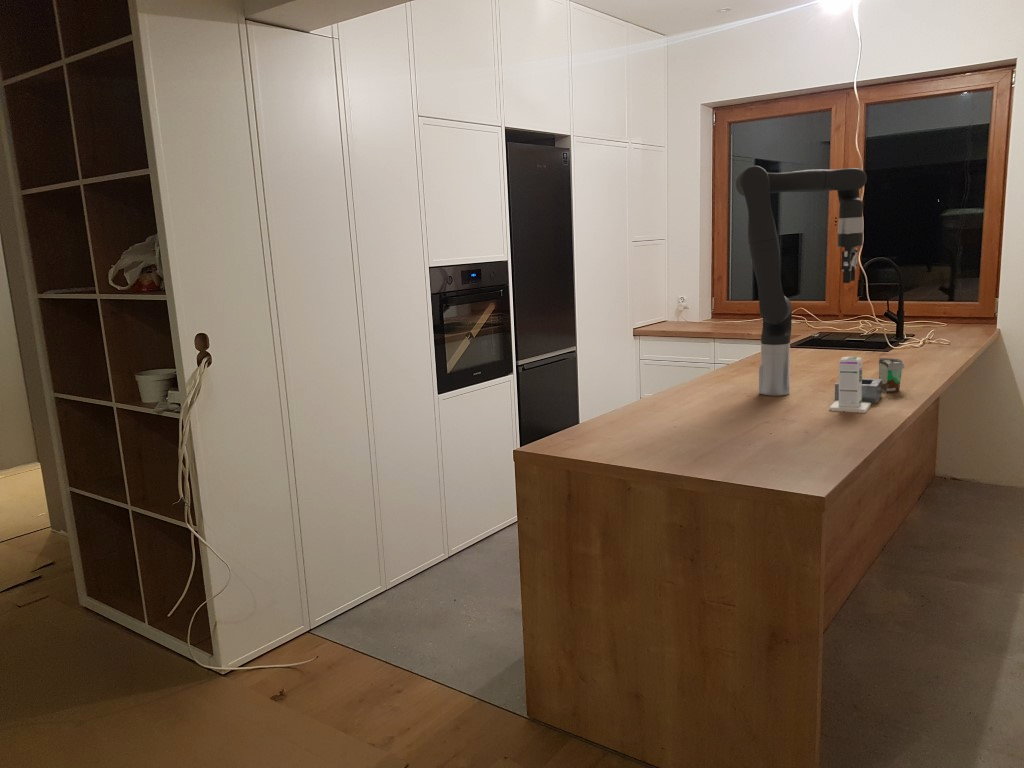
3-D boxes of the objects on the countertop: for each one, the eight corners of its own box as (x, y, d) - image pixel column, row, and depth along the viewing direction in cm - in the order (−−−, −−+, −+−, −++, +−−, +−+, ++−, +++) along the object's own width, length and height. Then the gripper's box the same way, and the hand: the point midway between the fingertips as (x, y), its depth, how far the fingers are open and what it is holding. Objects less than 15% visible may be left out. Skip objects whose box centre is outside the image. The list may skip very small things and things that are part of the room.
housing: (834, 401, 242) (835, 384, 241) (841, 393, 252) (842, 377, 251) (875, 403, 236) (876, 386, 235) (881, 395, 245) (882, 379, 244)
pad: (829, 410, 231) (829, 407, 230) (835, 403, 239) (835, 400, 239) (865, 413, 225) (865, 409, 225) (870, 405, 233) (870, 402, 233)
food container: (908, 394, 246) (909, 363, 244) (887, 394, 247) (888, 363, 245) (897, 386, 258) (898, 357, 256) (877, 386, 259) (878, 357, 257)
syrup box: (858, 407, 228) (860, 359, 225) (837, 406, 231) (838, 359, 228) (861, 403, 232) (863, 356, 230) (841, 402, 236) (842, 356, 233)
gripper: (842, 232, 256) (840, 280, 260) (833, 233, 245) (832, 283, 248) (866, 230, 252) (864, 280, 255) (859, 231, 241) (857, 283, 244)
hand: (849, 281), depth 252 cm, fingers open, 8 cm apart
